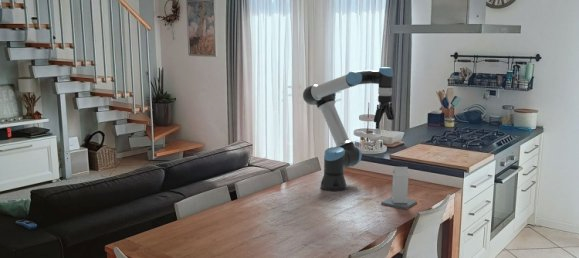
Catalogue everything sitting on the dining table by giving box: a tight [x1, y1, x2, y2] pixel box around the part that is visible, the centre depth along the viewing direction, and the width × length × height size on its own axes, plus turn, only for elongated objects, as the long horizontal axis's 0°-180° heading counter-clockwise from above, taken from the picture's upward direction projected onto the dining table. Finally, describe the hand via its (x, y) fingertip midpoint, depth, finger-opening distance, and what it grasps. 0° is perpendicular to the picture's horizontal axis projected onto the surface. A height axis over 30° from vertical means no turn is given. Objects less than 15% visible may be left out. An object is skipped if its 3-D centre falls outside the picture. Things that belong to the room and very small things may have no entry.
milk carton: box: [391, 166, 410, 203], centre depth 278 cm, size 7×7×19 cm
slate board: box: [381, 196, 418, 211], centre depth 280 cm, size 14×14×1 cm
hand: (383, 132), depth 296 cm, fingers open, 13 cm apart
